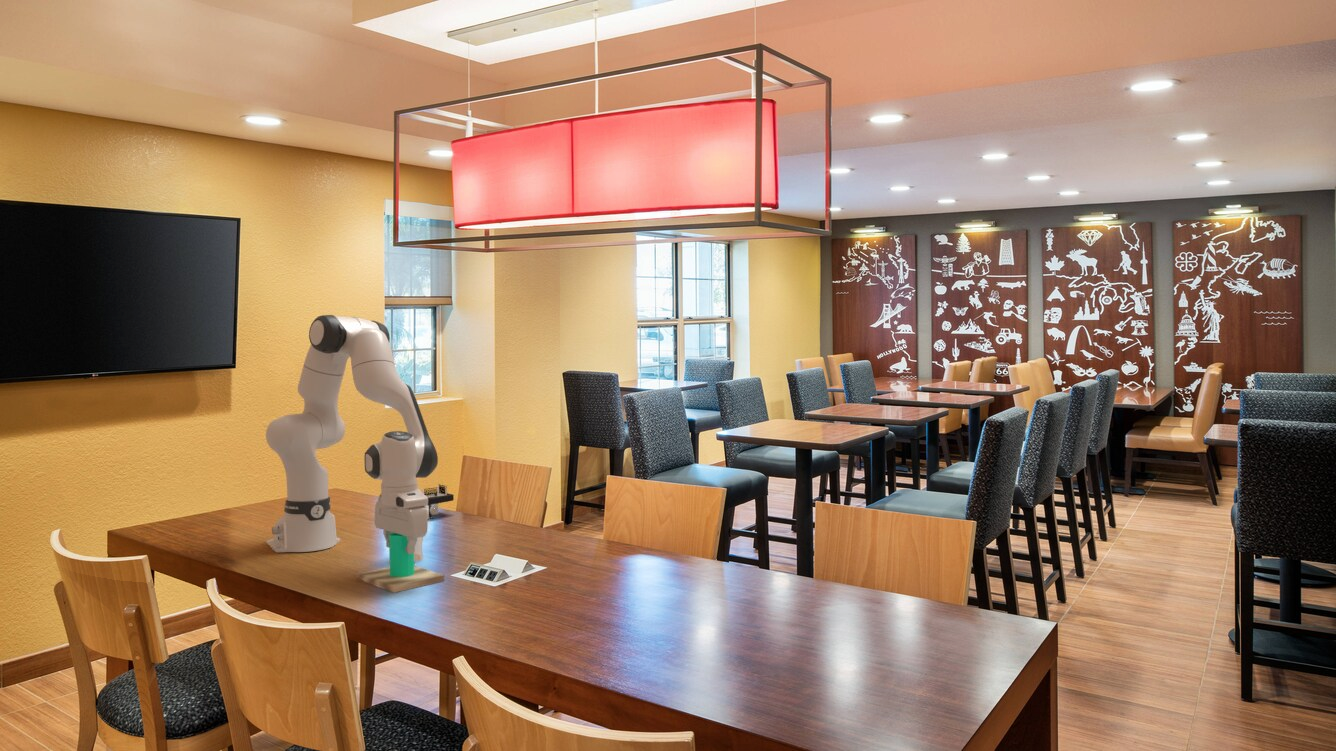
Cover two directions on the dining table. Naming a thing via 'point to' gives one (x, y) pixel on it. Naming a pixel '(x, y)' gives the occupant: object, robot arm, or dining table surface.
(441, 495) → the black-topped pedestal
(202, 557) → the dining table surface
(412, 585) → the birch board
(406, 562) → the candle
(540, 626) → the dining table surface
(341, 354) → the robot arm
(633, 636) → the dining table surface
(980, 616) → the dining table surface
